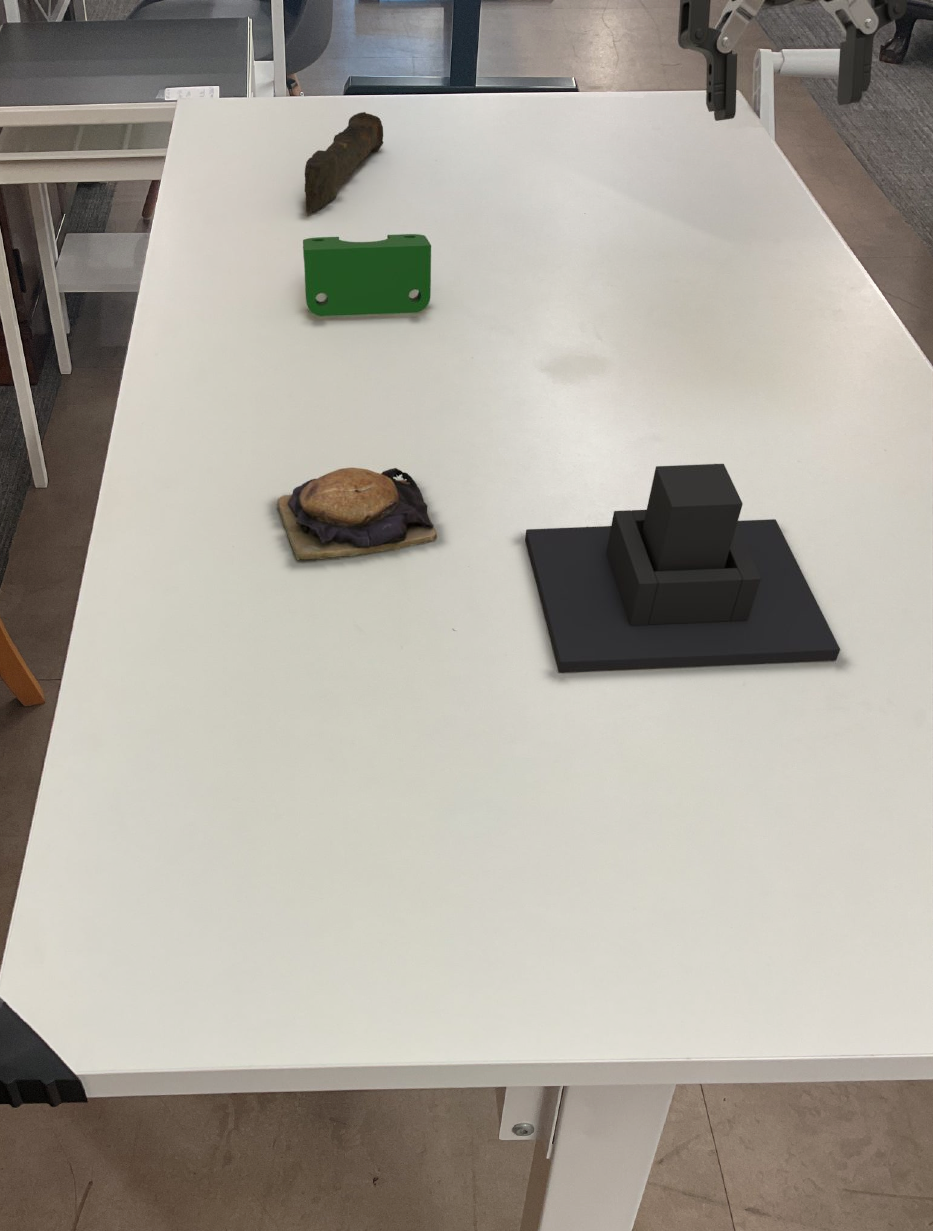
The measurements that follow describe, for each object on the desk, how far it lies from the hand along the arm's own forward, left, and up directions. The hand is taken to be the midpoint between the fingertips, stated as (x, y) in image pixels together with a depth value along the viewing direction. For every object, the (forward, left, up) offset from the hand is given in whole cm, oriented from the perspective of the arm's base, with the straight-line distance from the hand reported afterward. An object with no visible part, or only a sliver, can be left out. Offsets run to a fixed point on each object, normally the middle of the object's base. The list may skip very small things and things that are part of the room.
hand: (787, 111), depth 80 cm
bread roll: (+30, +13, -22) cm, 40 cm away
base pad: (+9, +23, -22) cm, 34 cm away
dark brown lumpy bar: (+28, -48, -22) cm, 60 cm away
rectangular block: (+9, +23, -21) cm, 33 cm away
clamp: (+27, -21, -22) cm, 41 cm away
